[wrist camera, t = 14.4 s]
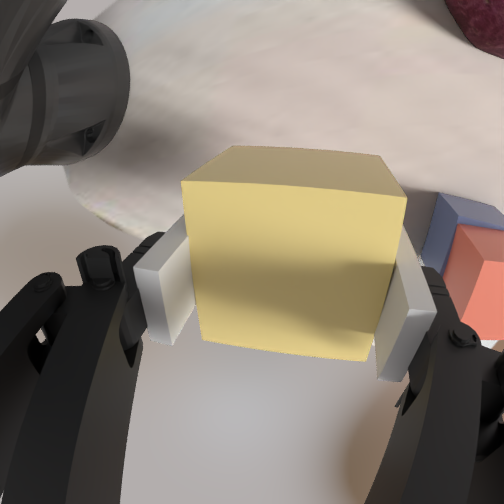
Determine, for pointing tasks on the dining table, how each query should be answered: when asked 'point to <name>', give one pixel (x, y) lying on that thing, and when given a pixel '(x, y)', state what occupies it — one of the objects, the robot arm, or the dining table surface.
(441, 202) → the blue cube
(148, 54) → the dining table surface
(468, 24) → the vegetable
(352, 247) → the mustard brick
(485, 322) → the red brick
